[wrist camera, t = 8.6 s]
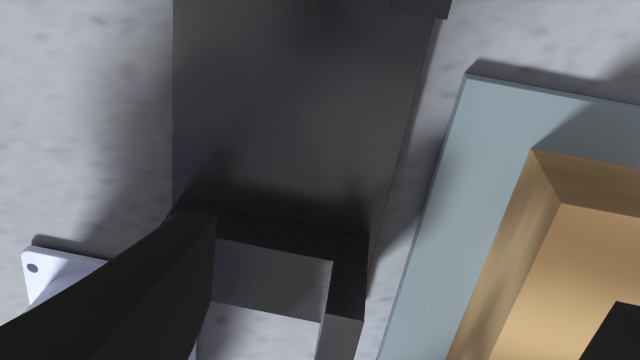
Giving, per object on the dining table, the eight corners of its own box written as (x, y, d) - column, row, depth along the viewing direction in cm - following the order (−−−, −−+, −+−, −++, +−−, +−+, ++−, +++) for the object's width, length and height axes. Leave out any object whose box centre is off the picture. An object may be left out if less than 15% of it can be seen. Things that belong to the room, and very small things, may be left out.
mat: (522, 472, 26) (524, 484, 26) (352, 436, 26) (351, 447, 26) (741, 124, 16) (752, 132, 16) (464, 72, 16) (466, 78, 16)
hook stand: (356, 307, 22) (347, 415, 17) (179, 271, 22) (123, 368, 18) (486, -198, 13) (539, -251, 8) (185, -250, 13) (76, -327, 9)
